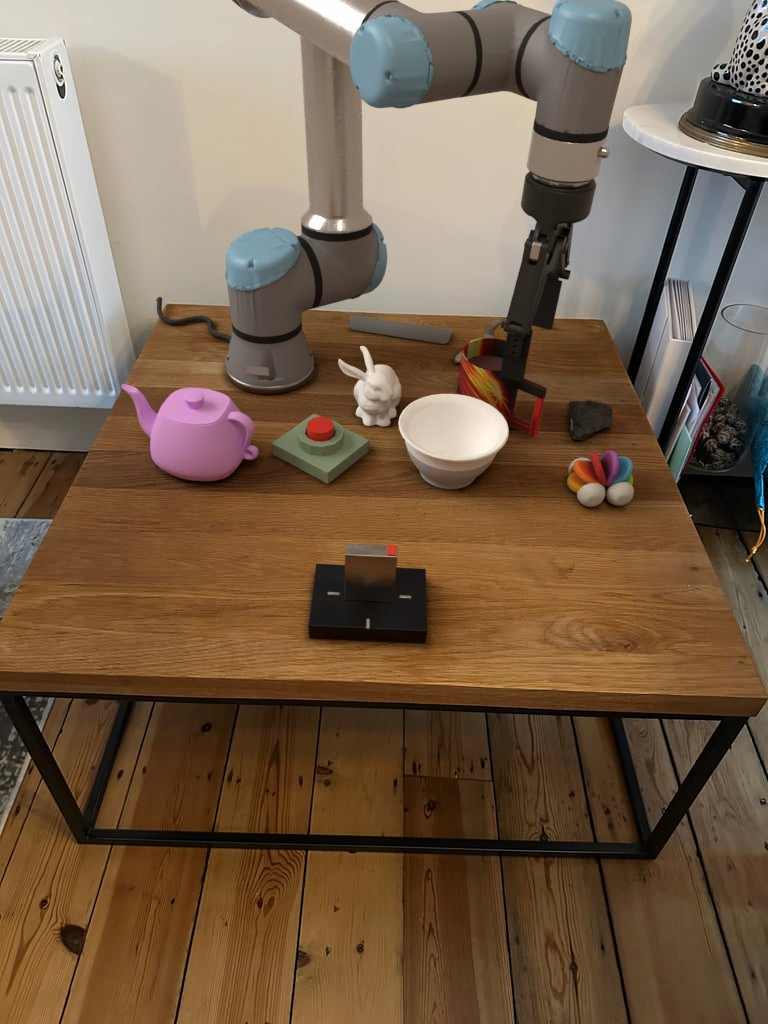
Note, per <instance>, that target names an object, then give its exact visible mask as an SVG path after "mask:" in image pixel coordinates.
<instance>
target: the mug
mask: <svg viewBox="0 0 768 1024" xmlns="http://www.w3.org/2000/svg"><path fill="white" fill-rule="evenodd" d="M505 344H506V339H501V338H497V337H494V338H481V337H480V338H479V337H478V338H475V339H473V340H470V341H468V342H467V343H465V344H464V345H463V347H462V348H461V352H462V355H461V360H460V361H461V362H459V363H460V364H459V372H458V379H457V387H456V394H458V395H465V396H469V397H473V398H476V399H479V400H482V401H484V402H486V403H488V404H490V405H491V406H493V407H494V408H495V409H497V410H498V411H499V412H500V413H501V414H502V415H503V417H504V418H505V420H506V421H507V424H508V428H509V429H510V427H511V428H513V429H515V430H518V431H519V432H522V433H525V434H526V435H529V436H531V437H532V438H535V437H536V436H537V435H538V433H539V429H540V424H541V419H542V412H543V408H544V403H545V399H546V395H547V391H548V387H546V386H543V385H541V384H539V383H537V382H534V381H531V380H529V379H527V378H524V379H523V381H522V382H519V381H515V380H512V379H508V378H504V377H500V373H501V368H502V362H503V356H504V350H505ZM519 390H520V391H521V392H524V393H526V394H528V395H531V396H533V397H536V399H535V403H534V406H533V412H532V417H531V421H530V422H529V421H527V420H524V419H522V418H520V417H518V416H516V415H514V413H515V408H516V403H517V398H518V393H519V392H518V391H519Z"/></svg>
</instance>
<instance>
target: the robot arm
mask: <svg viewBox="0 0 768 1024" xmlns="http://www.w3.org/2000/svg"><path fill="white" fill-rule="evenodd" d="M231 1H232V2H233V3H234V4H236V5H237V6H238V7H239V8H240V9H242V10H243V11H244V12H246V13H248V14H249V15H251V16H253V17H255V18H259V19H271V18H272V19H274V20H276V21H277V22H279V23H280V24H282V25H283V26H284V27H287V28H288V29H290V30H291V31H293V32H294V33H296V34H297V35H299V41H300V43H299V44H300V59H301V76H302V94H303V96H302V97H303V114H304V115H303V116H304V132H305V134H304V135H305V152H306V153H305V154H306V165H307V166H306V168H307V184H308V185H307V187H308V204H309V205H308V206H309V207H308V209H306V211H305V212H304V213H303V214H302V216H301V217H300V229H301V230H300V231H301V232H300V235H296V233H294V231H292V230H289V229H287V228H282V227H274V228H270V227H261V228H256V229H253V230H249V231H247V232H245V233H243V234H240V236H237V237H236V238H235V239H233V240H232V242H231V243H230V244H229V247H228V248H227V250H226V253H225V274H224V276H225V281H226V285H227V292H228V293H227V294H228V301H229V310H230V311H229V312H230V320H231V330H232V331H231V335H230V334H226V333H223V332H219V331H217V330H215V329H214V328H213V327H214V321H213V319H212V318H210V317H209V316H205V315H194V316H188V317H184V318H178V319H172V318H168V317H166V316H165V315H164V313H163V297H161V296H158V297H157V298H156V299H155V302H156V313H157V316H158V318H159V319H160V320H161V321H162V322H163V323H165V324H168V325H183V324H188V323H191V322H198V321H199V322H206V323H207V331H208V333H209V334H210V335H212V336H213V337H216V338H220V339H224V340H227V341H228V342H229V345H228V351H227V353H226V356H225V362H224V367H225V375H226V377H227V379H228V380H229V382H230V383H231V384H232V385H233V386H235V387H236V388H238V389H239V390H240V389H241V390H243V391H244V392H245V391H246V392H248V393H253V394H259V395H278V394H279V395H280V394H284V393H289V392H292V391H295V390H297V389H299V388H301V387H303V386H305V385H306V384H308V383H309V381H310V380H311V379H312V378H313V376H314V373H315V359H314V355H313V353H312V349H310V347H309V346H310V345H309V342H308V339H307V337H306V335H305V333H304V330H303V312H307V311H309V310H312V309H317V308H321V307H324V306H328V305H332V304H335V303H340V302H343V301H347V300H355V299H357V298H360V297H361V296H363V295H366V294H369V293H371V292H373V291H375V290H376V289H377V288H378V287H379V286H380V285H381V283H382V281H383V280H384V277H385V275H386V271H387V265H388V249H387V244H386V243H384V240H385V237H384V234H383V232H382V231H381V228H379V226H378V225H377V224H375V222H373V221H374V220H373V216H372V214H371V213H370V212H369V211H368V210H367V209H365V206H364V174H363V173H364V168H363V166H364V165H363V162H364V161H363V152H364V151H363V102H364V103H365V104H366V105H369V106H370V107H372V108H375V109H387V108H388V109H389V108H393V109H406V108H411V107H413V106H417V105H423V104H428V103H435V102H439V101H440V102H441V101H446V100H452V99H458V98H468V97H473V96H481V95H486V94H493V93H499V92H501V93H502V92H508V93H512V94H515V95H518V96H520V97H523V98H526V99H528V100H531V101H532V102H536V107H535V116H534V119H533V126H532V131H531V137H530V141H529V142H530V143H529V148H528V154H527V160H526V168H527V170H528V172H527V173H526V174H525V176H524V180H523V181H524V182H523V188H522V192H521V193H522V194H521V201H520V207H521V210H522V211H523V212H524V213H525V215H527V216H528V217H531V218H532V219H534V221H535V222H536V223H535V226H534V229H530V231H529V233H528V237H527V238H526V240H525V242H524V243H523V252H522V257H521V263H520V266H519V269H518V273H517V277H516V281H515V285H514V289H513V291H512V292H513V293H512V296H511V299H510V304H509V306H508V307H509V308H508V311H507V315H506V319H505V322H502V324H501V325H500V329H502V330H503V332H504V333H506V337H505V338H506V339H505V341H506V344H505V350H504V356H503V362H502V368H501V373H500V377H504V378H508V379H512V380H515V381H519V382H522V381H523V379H525V374H526V371H527V365H528V360H529V355H530V349H531V343H532V340H533V334H534V330H533V327H537V328H541V329H544V330H548V331H552V329H553V327H554V323H555V317H556V313H557V308H558V305H559V301H560V300H559V299H560V295H561V289H562V285H563V280H565V281H566V280H567V281H569V279H570V277H571V272H572V271H571V270H569V269H567V268H568V266H569V265H570V256H571V248H572V241H573V233H574V232H573V231H574V224H576V223H580V222H582V221H584V220H586V219H587V218H588V217H589V216H590V214H591V211H592V206H593V202H594V199H595V193H596V189H597V182H596V180H595V178H597V177H598V176H599V172H600V168H601V163H602V159H607V158H608V157H610V153H611V151H610V148H609V147H606V146H605V147H604V145H605V144H606V142H607V137H608V133H609V130H610V129H609V128H610V122H611V118H612V113H613V110H614V106H615V102H616V98H617V94H618V91H619V86H620V83H621V79H622V75H623V71H624V68H625V65H626V63H627V59H628V53H627V52H628V46H629V42H630V35H631V29H632V23H633V22H632V21H633V16H632V15H633V14H632V11H631V10H630V8H629V7H628V5H626V4H625V3H623V2H621V1H618V0H557V1H556V2H555V4H554V5H553V8H552V12H551V14H550V13H548V12H544V11H541V10H537V9H535V8H532V7H527V6H525V5H523V4H521V3H517V1H515V0H480V1H479V2H478V3H476V4H475V5H474V6H473V7H472V8H470V9H465V10H455V11H453V10H452V11H441V12H439V11H438V12H428V13H427V12H422V11H419V10H418V9H417V10H416V9H414V8H413V7H411V6H409V5H407V4H405V3H403V2H401V1H399V0H231Z"/></svg>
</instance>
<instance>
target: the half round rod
mask: <svg viewBox="0 0 768 1024" xmlns="http://www.w3.org/2000/svg"><path fill="white" fill-rule="evenodd" d="M349 328H350V329H351V330H353V331H359V332H364V333H370V334H377V335H384V336H391V337H396V338H401V339H402V338H403V339H408V340H409V339H410V340H414V341H422V342H428V343H434V344H439V345H440V344H441V345H446V344H447V343H449V341H450V340H451V337H452V334H453V329H449V328H442V327H435V326H430V325H423V324H416V323H410V322H404V321H403V322H402V321H397V320H392V319H391V320H390V319H385V318H384V319H383V318H378V317H377V318H376V317H370V316H364V315H358V314H351V316H350V318H349Z"/></svg>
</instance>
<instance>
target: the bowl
mask: <svg viewBox="0 0 768 1024" xmlns="http://www.w3.org/2000/svg"><path fill="white" fill-rule="evenodd" d="M397 424H398V430H399V432H400V434H401V437H402V438H403V440H404V443H405V446H406V450H407V453H408V456H409V458H410V459H411V462H412V463H413V465H414V466H415V467H416V468H417V470H418V471H419V474H420V476H421V477H422V478H423V480H424V481H426V483H428V484H430V485H432V486H434V487H436V488H439V489H443V490H444V489H445V490H458V489H462V488H465V487H468V486H469V485H471V484H472V483H473V482H474V480H475V479H476V478H477V477H478V476H479V477H480V475H481V474H482V473H484V472H485V471H486V470H487V469H488V468H489V467H490V465H491V464H492V463H493V461H494V459H495V457H496V456H497V453H498V452H499V451H500V450H501V449H503V448H504V446H505V444H507V441H508V438H509V436H510V435H509V433H510V432H509V429H510V427H509V428H508V424H507V421H506V420H505V418H504V417H503V415H502V414H501V413H500V412H499V411H498V410H497V409H495V408H494V407H493V406H491V405H490V404H488V403H486V402H484V401H482V400H479V399H476V398H473V397H469V396H465V395H458V394H457V393H437V394H431V395H427V396H423V397H420V398H418V399H415V400H414V401H412V402H410V403H409V404H408V405H406V407H405V408H404V409H403V410H402V412H401V413H400V415H399V419H398V423H397Z"/></svg>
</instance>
